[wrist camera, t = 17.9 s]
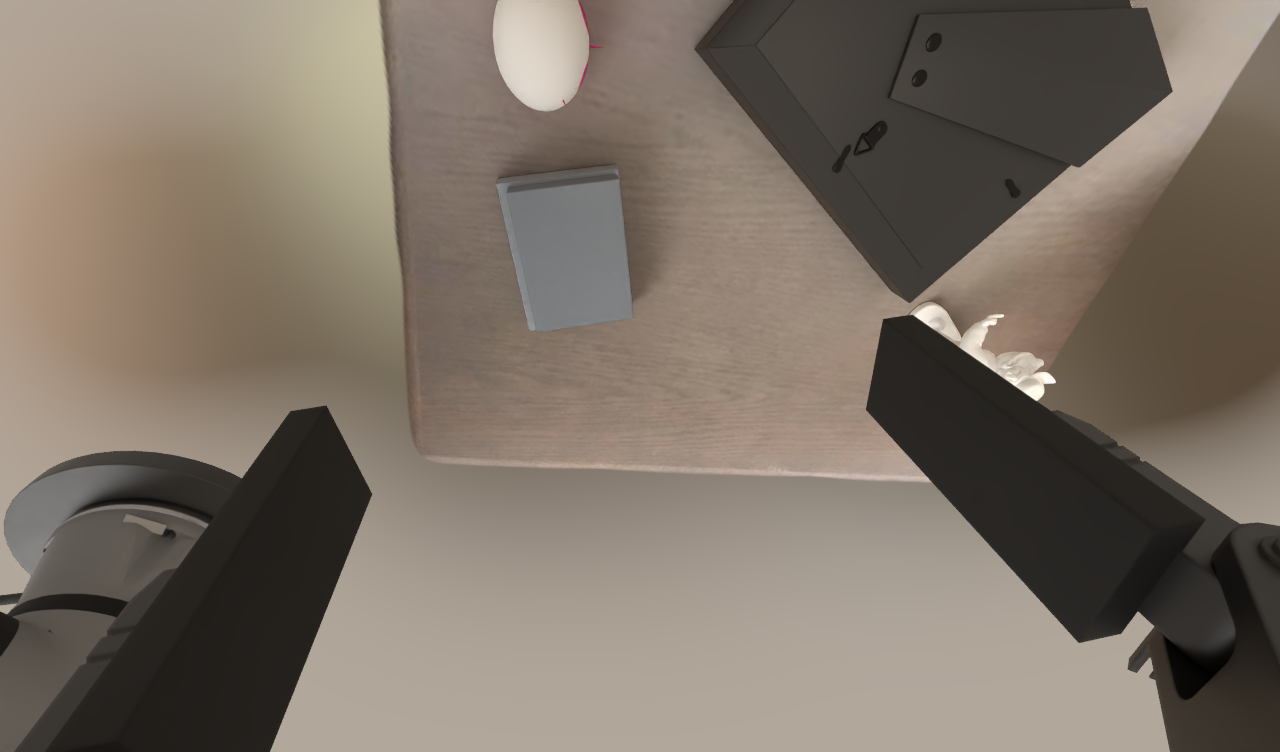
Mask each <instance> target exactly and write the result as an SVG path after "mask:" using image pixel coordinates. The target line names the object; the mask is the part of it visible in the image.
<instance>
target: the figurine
mask: <svg viewBox="0 0 1280 752" xmlns="http://www.w3.org/2000/svg"><path fill="white" fill-rule="evenodd" d="M909 315H914V316H915V317H917V318H918V319H920V320H921V321H922V322H924V323H925V324H927V325H928V326H930V327H931V328H932V329H934V330H935V331H937V332H938V333H940V334H941V335H943V336H944V337H945V338H947V339H948V340H950V341H951V342H953V343H954V344H955V345H957V346H958V347H960V348H961V349H963V350H964V351H965V352H967V353H968V354H970V355H971V356H973V357H974V358H975V359H977V360H978V361H980V362H981V363H983V364H984V365H986V366H987V367H988V368H990V369H991V370H993V371H994V372H996V373H997V374H998V375H1000V376H1001V377H1003V378H1004V379H1006V380H1007V381H1008V382H1010V383H1011V384H1013V385H1014V386H1016V387H1017V388H1019V389H1020V390H1021V391H1023V392H1024V393H1026V394H1027V395H1029V396H1030V397H1031V398H1033V399H1034V400H1036V401H1037V400H1038V399H1039V398H1040V397H1041V396H1042V395H1043V394H1044V386H1043V384H1047V383H1056V381H1055V380H1054V378H1053V377H1052V376H1051V375H1050V374H1049V373H1046V372H1038V373H1034V371H1035V370H1037V369H1038V368H1039V367H1041V366H1043V364H1044V362H1043V360H1041V359H1036V358H1035V357H1034V356H1033V355H1032V354H1031V353H1028V352H1023V353H1021V352H1007V353H1002V354H1000V355H998V356H997V357H995V355H994V354H993V353H992V352H991V351H989V350H986V349H985V350H983V349H981V346H982V342H983V341H984V338H985V335H986V333H987V332H988V328H987V327H988V326H989V325H995V324H996V322H997V318H1000V317H1004V315H1003V314H994V315H989V316H987V317H986V318H985V319H983V320H982V321H980V322H976V323H975V324H973V325H972V326H971V327H970V328H969V329H968V330H967V331H966V332H965V333H964V335H963V337H962V338H961V336H960V334H959V331H958V329H957V328H956V326H955V325H954V323H953V321H952V319H951V318H950V317H949V315H948V312H946V311H945V309H944V308H942V307H941V306H939V305H938V304H936V303H934V302H925V303H923V304H921V305H919V306H918V307H916V308H915V309H914V310H913V311H912V312H911V313H910V314H909ZM1033 373H1034V374H1033Z"/></svg>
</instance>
